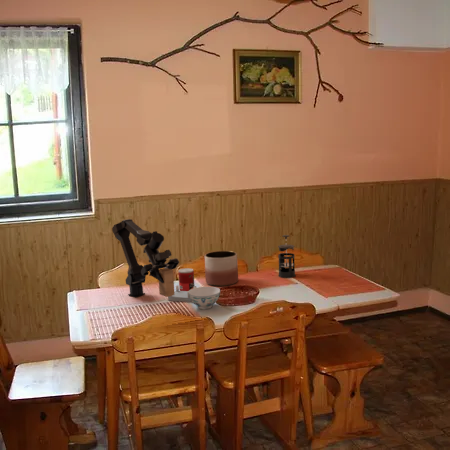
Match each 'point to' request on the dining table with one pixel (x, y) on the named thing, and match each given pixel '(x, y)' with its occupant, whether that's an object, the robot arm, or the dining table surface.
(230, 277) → the planter
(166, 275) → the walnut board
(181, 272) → the canned food
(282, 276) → the french press
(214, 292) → the chinaware
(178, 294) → the peg seat
